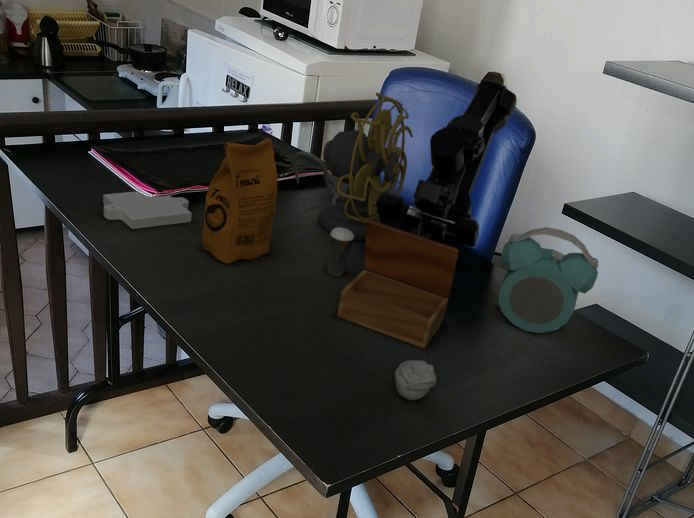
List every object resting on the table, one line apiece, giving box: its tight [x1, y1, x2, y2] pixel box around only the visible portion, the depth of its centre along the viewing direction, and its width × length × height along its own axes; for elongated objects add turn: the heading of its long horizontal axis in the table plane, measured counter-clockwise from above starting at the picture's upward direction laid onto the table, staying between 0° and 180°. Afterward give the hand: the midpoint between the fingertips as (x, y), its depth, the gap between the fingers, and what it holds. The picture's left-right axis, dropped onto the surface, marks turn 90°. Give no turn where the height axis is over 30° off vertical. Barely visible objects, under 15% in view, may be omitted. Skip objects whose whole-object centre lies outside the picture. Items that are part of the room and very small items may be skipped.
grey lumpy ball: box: [394, 359, 437, 401], centre depth 114 cm, size 6×7×7 cm
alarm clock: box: [498, 226, 599, 334], centre depth 140 cm, size 17×10×20 cm, turn 71°
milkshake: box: [326, 228, 360, 277], centre depth 146 cm, size 4×5×10 cm
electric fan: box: [292, 92, 414, 241], centre depth 165 cm, size 26×32×30 cm
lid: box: [363, 219, 460, 299], centre depth 133 cm, size 11×17×1 cm
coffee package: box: [200, 138, 279, 264], centre depth 142 cm, size 10×12×22 cm
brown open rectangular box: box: [336, 269, 449, 349], centre depth 134 cm, size 11×17×5 cm, turn 68°
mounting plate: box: [102, 190, 193, 230], centre depth 155 cm, size 18×13×2 cm
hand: (409, 260), depth 134 cm, fingers closed, pressing on lid
